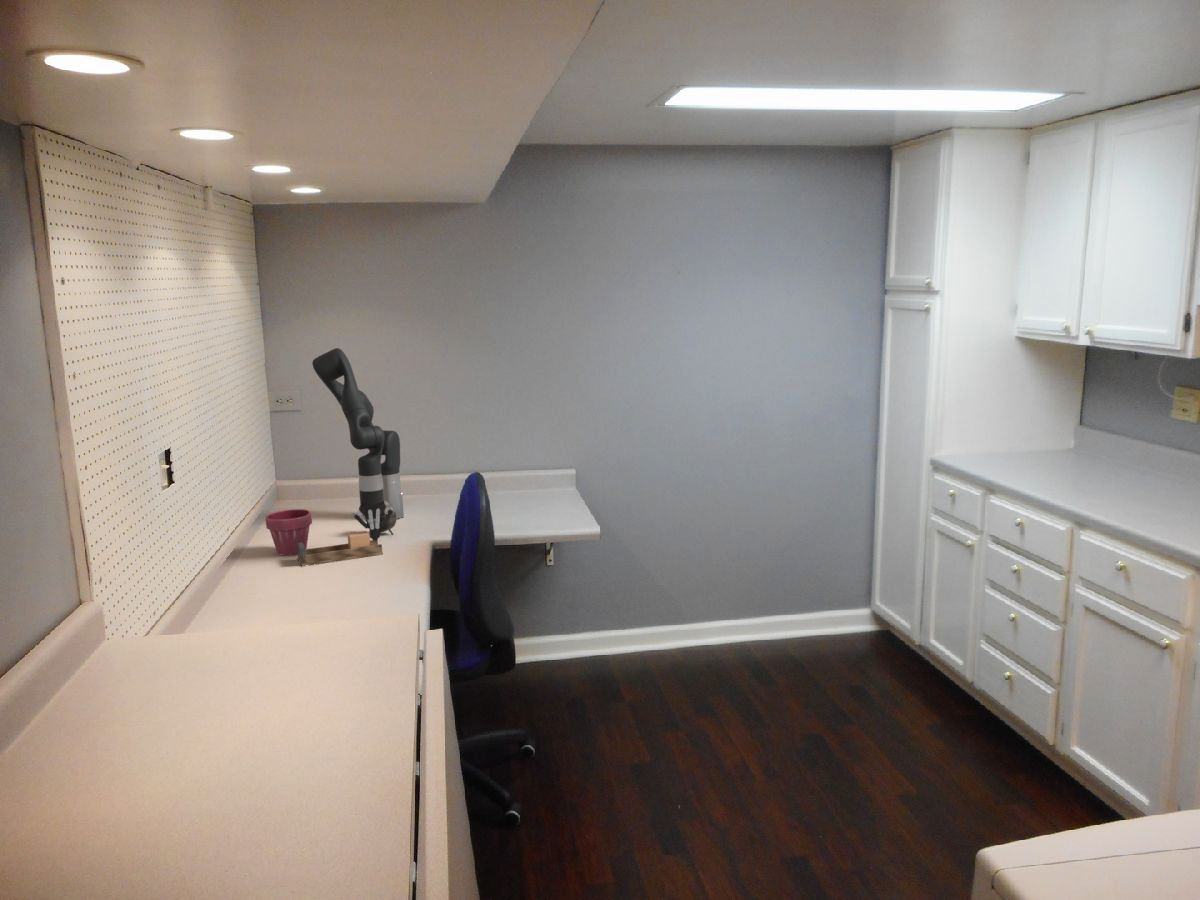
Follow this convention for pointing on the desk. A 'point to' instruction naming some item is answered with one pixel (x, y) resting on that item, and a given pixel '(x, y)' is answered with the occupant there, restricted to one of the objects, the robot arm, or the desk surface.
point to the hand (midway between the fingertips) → (375, 539)
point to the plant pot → (289, 529)
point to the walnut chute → (336, 553)
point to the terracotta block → (358, 539)
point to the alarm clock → (391, 520)
